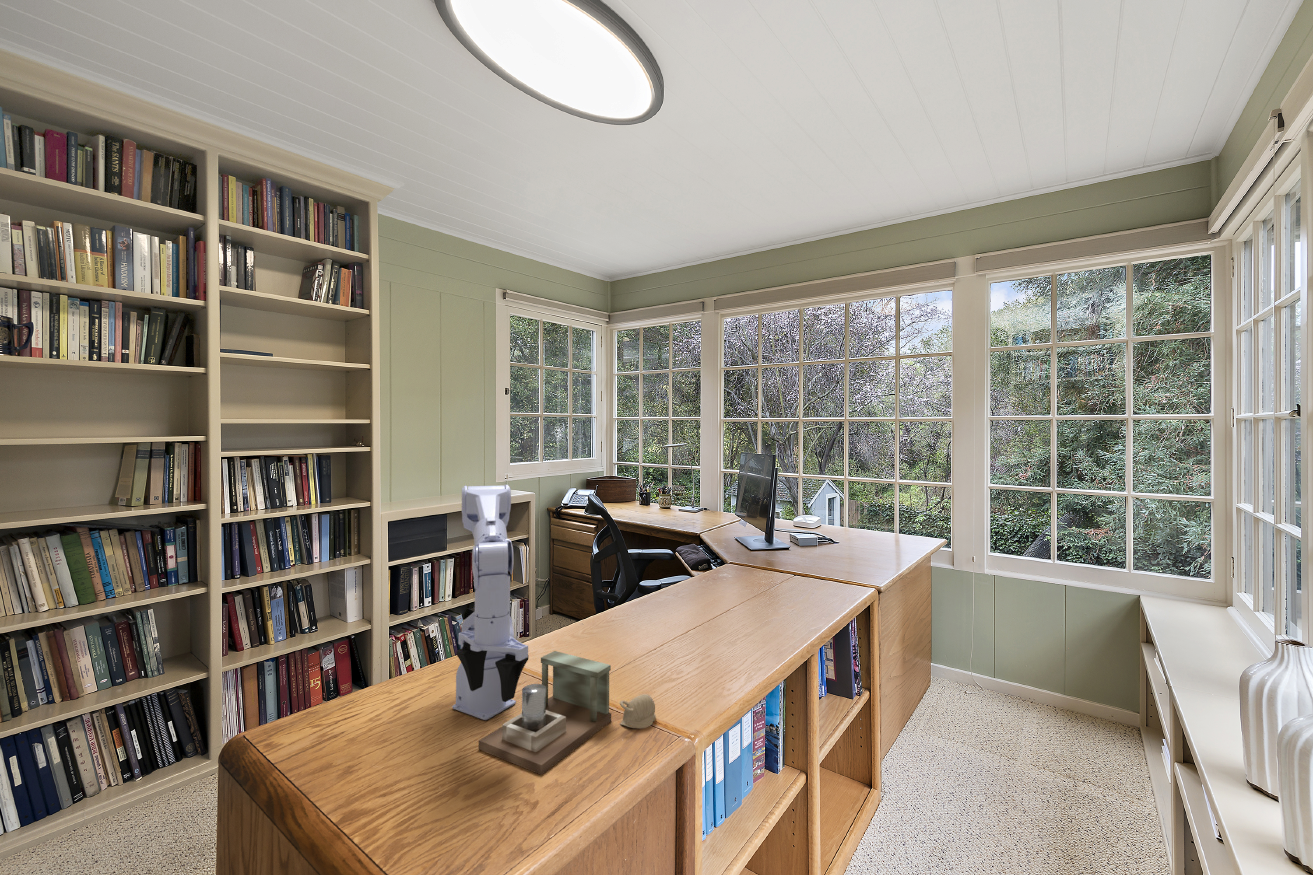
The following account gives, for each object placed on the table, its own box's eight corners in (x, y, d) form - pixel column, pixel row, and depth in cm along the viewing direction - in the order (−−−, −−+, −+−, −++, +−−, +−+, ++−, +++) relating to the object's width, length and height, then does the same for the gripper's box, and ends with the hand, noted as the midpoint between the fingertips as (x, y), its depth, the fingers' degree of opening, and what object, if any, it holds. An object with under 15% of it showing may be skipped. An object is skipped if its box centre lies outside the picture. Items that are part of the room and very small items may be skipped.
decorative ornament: (661, 721, 101) (662, 693, 101) (624, 735, 96) (624, 705, 96) (649, 713, 104) (649, 685, 105) (612, 726, 100) (612, 696, 100)
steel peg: (516, 737, 93) (517, 690, 93) (534, 726, 96) (534, 681, 96) (533, 744, 91) (533, 696, 91) (550, 733, 94) (550, 687, 94)
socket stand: (478, 749, 92) (479, 687, 92) (553, 702, 108) (553, 650, 108) (541, 774, 85) (541, 707, 85) (611, 721, 101) (611, 665, 101)
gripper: (443, 612, 92) (443, 693, 92) (505, 627, 85) (505, 714, 85) (476, 602, 98) (476, 677, 98) (537, 615, 91) (536, 696, 91)
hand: (492, 693), depth 92 cm, fingers open, 7 cm apart
